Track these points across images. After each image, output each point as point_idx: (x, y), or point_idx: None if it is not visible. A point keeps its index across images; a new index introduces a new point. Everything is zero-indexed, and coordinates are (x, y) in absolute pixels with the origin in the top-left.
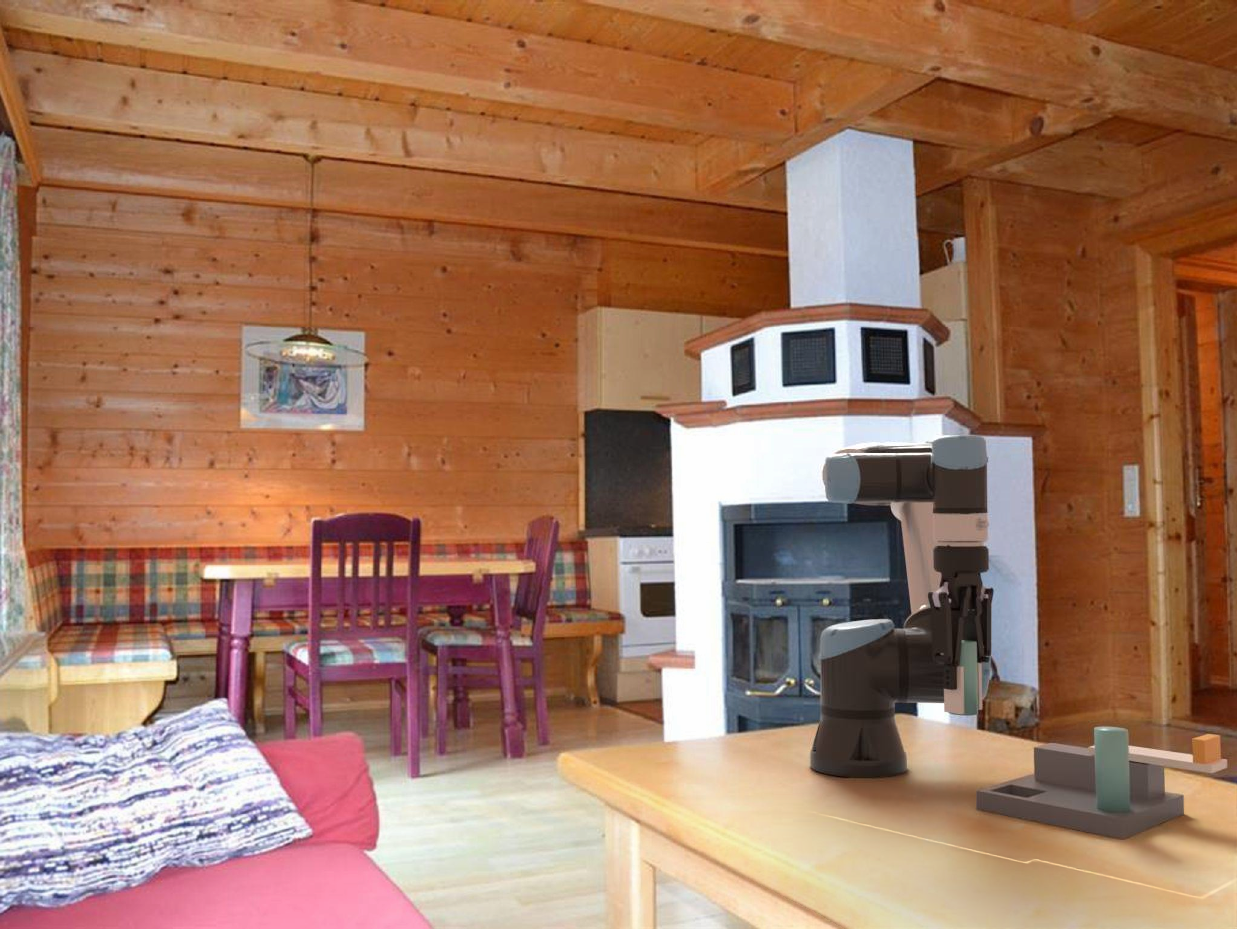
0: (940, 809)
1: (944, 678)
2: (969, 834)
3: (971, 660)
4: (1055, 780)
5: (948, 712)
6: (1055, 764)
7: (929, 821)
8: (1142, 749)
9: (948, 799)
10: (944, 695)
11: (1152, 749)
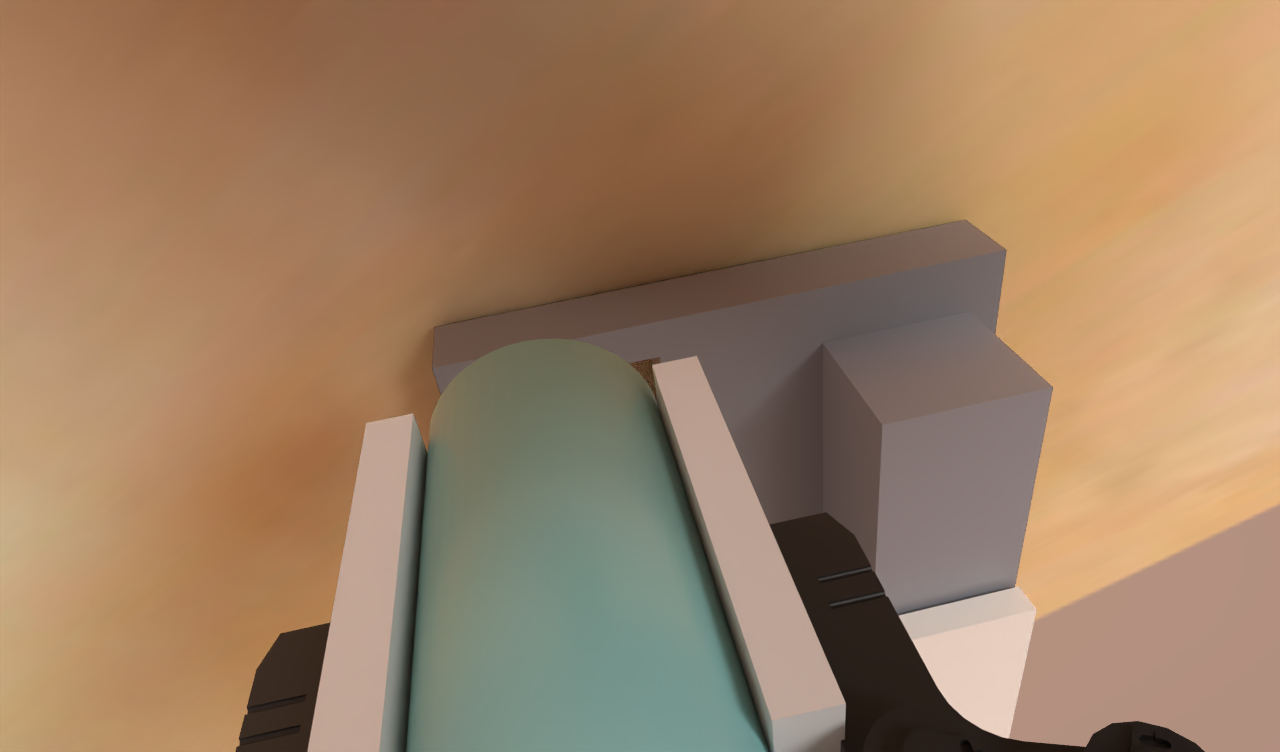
0: (303, 232)
1: (244, 750)
2: (163, 523)
3: None
4: (825, 427)
5: (453, 379)
6: (852, 469)
7: (117, 348)
8: (978, 723)
9: (476, 117)
10: (351, 523)
11: (1001, 731)
